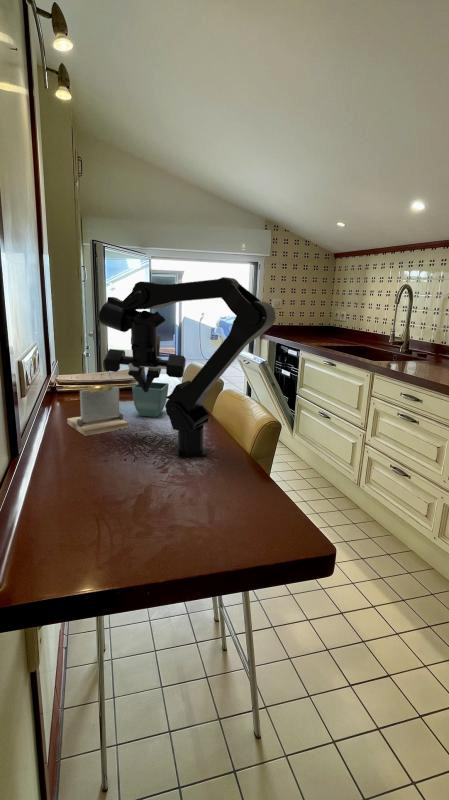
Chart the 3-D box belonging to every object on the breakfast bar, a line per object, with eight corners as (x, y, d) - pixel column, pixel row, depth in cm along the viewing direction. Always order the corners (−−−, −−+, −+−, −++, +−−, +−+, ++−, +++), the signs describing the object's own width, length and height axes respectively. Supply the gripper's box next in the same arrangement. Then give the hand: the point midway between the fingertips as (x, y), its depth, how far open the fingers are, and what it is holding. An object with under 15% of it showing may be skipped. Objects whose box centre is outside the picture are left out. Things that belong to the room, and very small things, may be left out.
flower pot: (169, 411, 130) (169, 382, 128) (162, 419, 122) (162, 389, 120) (140, 409, 131) (140, 381, 129) (131, 417, 123) (131, 387, 120)
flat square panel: (119, 419, 115) (119, 384, 112) (83, 425, 108) (81, 388, 106) (117, 418, 116) (116, 383, 114) (80, 424, 110) (79, 387, 107)
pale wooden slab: (128, 428, 113) (128, 417, 113) (85, 436, 106) (84, 424, 105) (108, 417, 122) (108, 407, 121) (67, 423, 115) (66, 413, 114)
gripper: (188, 323, 104) (187, 376, 114) (111, 316, 104) (116, 369, 113) (183, 347, 95) (182, 402, 105) (99, 340, 95) (105, 395, 105)
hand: (146, 391), depth 107 cm, fingers closed
